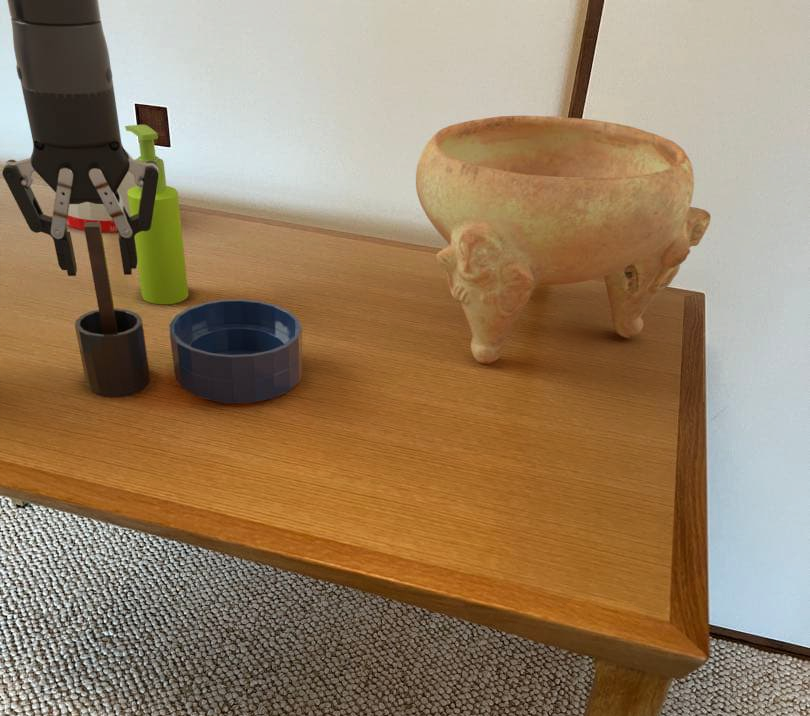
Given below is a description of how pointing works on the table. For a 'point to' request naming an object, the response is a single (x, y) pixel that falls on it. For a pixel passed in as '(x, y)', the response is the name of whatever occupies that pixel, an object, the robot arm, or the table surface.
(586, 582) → the table surface
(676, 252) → the decorative bowl
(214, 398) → the mixing bowl
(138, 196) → the soap dispenser
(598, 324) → the table surface
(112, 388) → the crock
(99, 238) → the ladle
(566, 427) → the table surface
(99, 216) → the kitchen timer
